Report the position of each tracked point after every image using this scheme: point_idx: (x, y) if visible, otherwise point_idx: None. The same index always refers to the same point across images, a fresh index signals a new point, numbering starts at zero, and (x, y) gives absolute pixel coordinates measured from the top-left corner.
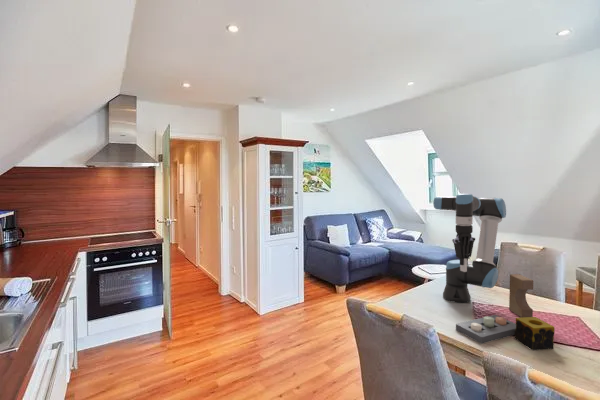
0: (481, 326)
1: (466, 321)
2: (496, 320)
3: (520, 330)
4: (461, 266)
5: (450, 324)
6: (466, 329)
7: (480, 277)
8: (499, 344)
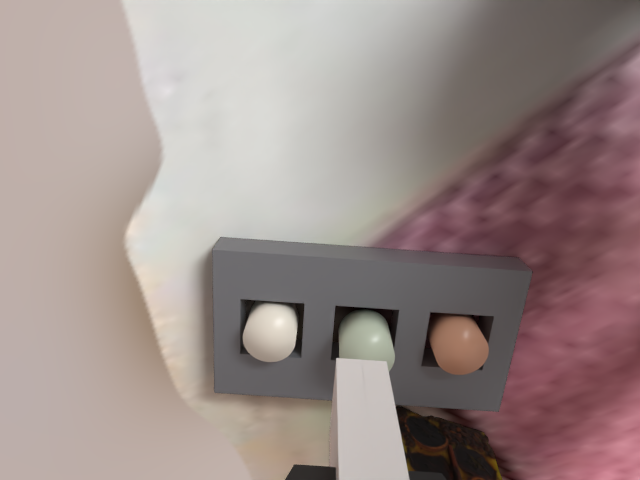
0: (279, 360)
1: (294, 256)
2: (436, 339)
3: None
4: (336, 434)
5: (245, 178)
6: (213, 316)
7: None
8: (289, 404)
